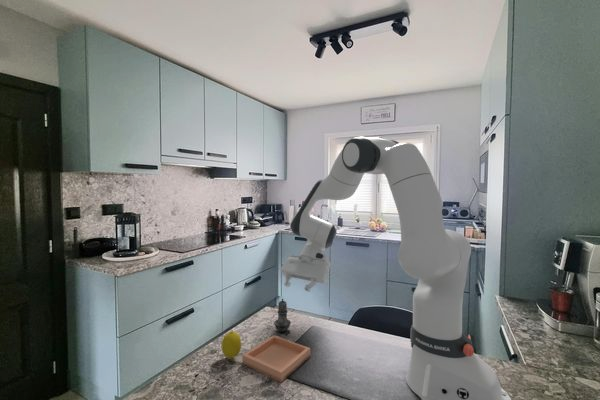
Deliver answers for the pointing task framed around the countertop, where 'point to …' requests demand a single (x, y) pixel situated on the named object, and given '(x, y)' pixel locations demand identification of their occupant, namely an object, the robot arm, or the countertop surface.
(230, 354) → the lemon
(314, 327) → the countertop surface
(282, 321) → the dark grey chess piece
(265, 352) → the tray
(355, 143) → the robot arm
